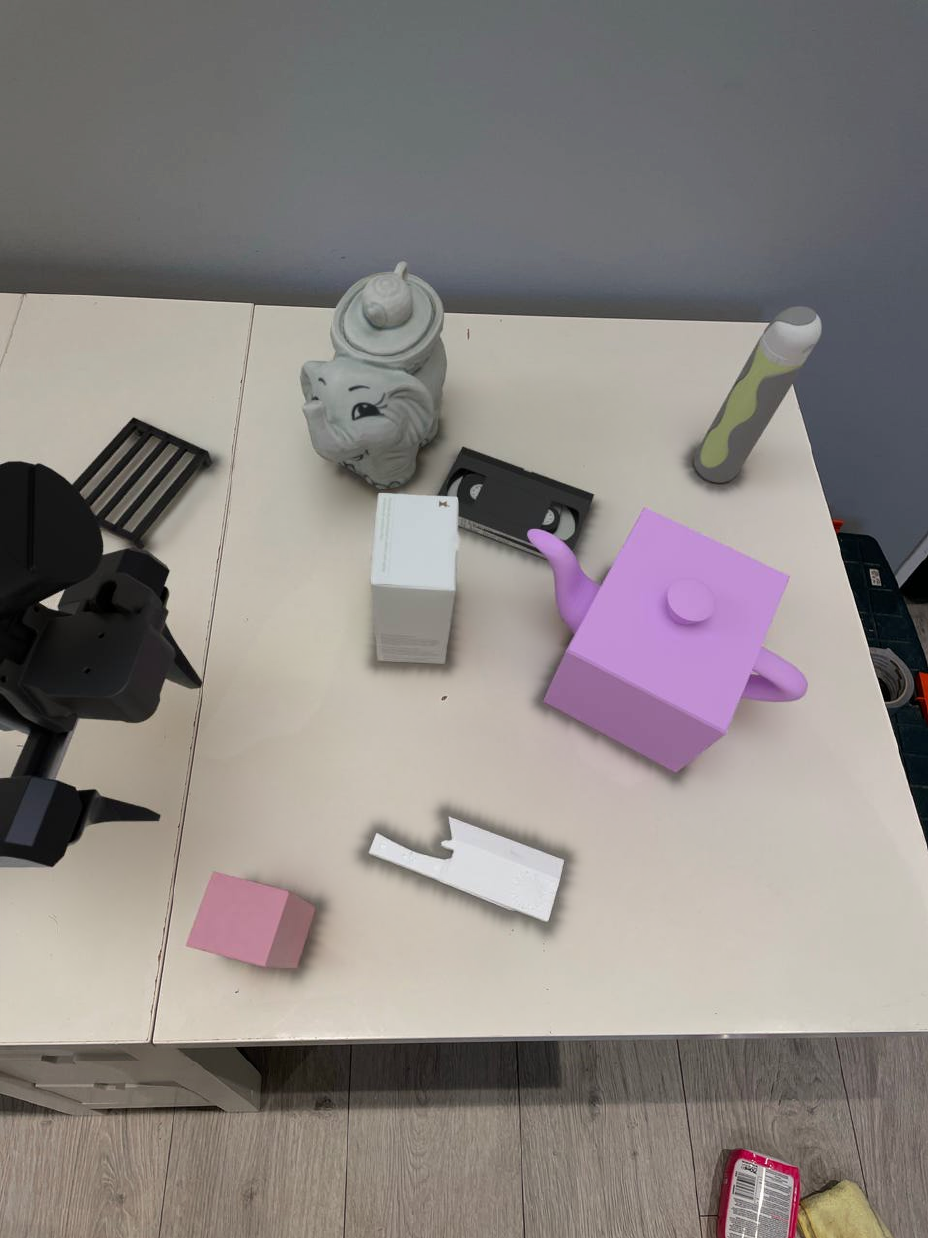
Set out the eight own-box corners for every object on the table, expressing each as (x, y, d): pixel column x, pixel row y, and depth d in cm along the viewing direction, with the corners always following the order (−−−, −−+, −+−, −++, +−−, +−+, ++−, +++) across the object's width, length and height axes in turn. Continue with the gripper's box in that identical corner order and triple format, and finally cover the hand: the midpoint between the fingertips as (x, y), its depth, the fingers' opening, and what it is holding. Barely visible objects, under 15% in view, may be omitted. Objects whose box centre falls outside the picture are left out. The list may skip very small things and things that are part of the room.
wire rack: (139, 551, 70) (133, 542, 68) (62, 514, 71) (54, 503, 70) (212, 462, 75) (208, 450, 73) (139, 428, 76) (133, 416, 75)
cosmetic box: (383, 583, 70) (375, 486, 56) (453, 587, 70) (461, 491, 56) (376, 665, 66) (365, 583, 52) (449, 669, 67) (457, 588, 53)
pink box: (234, 951, 56) (185, 946, 44) (254, 891, 58) (212, 870, 46) (297, 968, 55) (264, 967, 44) (316, 907, 57) (289, 891, 46)
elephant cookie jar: (335, 537, 72) (309, 403, 55) (276, 427, 77) (236, 274, 60) (482, 476, 76) (500, 334, 59) (416, 376, 81) (415, 219, 64)
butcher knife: (393, 795, 61) (392, 792, 60) (564, 861, 60) (566, 859, 59) (368, 854, 59) (368, 852, 58) (545, 924, 58) (548, 923, 57)
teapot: (546, 541, 73) (572, 451, 60) (783, 659, 69) (865, 589, 56) (472, 663, 67) (485, 592, 54) (728, 801, 63) (806, 758, 50)
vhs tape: (431, 516, 74) (432, 505, 72) (461, 458, 77) (462, 446, 75) (565, 567, 72) (569, 556, 70) (590, 505, 75) (594, 494, 73)
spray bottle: (711, 492, 77) (800, 345, 59) (682, 458, 78) (761, 306, 60) (746, 474, 78) (844, 325, 60) (717, 441, 80) (804, 287, 62)
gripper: (-36, 815, 29) (233, 900, 40) (125, 458, 38) (305, 610, 50) (-185, 823, 33) (95, 897, 45) (-9, 503, 43) (184, 633, 54)
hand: (177, 749), depth 48 cm, fingers open, 9 cm apart
